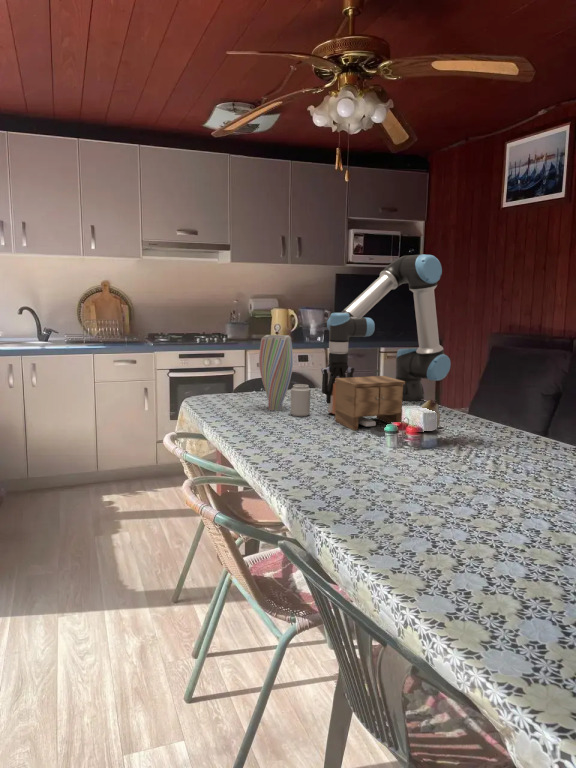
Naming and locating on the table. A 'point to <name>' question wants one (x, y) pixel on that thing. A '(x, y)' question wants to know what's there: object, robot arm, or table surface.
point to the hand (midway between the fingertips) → (336, 410)
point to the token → (378, 431)
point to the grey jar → (300, 400)
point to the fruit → (432, 408)
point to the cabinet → (368, 399)
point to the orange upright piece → (361, 420)
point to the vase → (276, 367)
